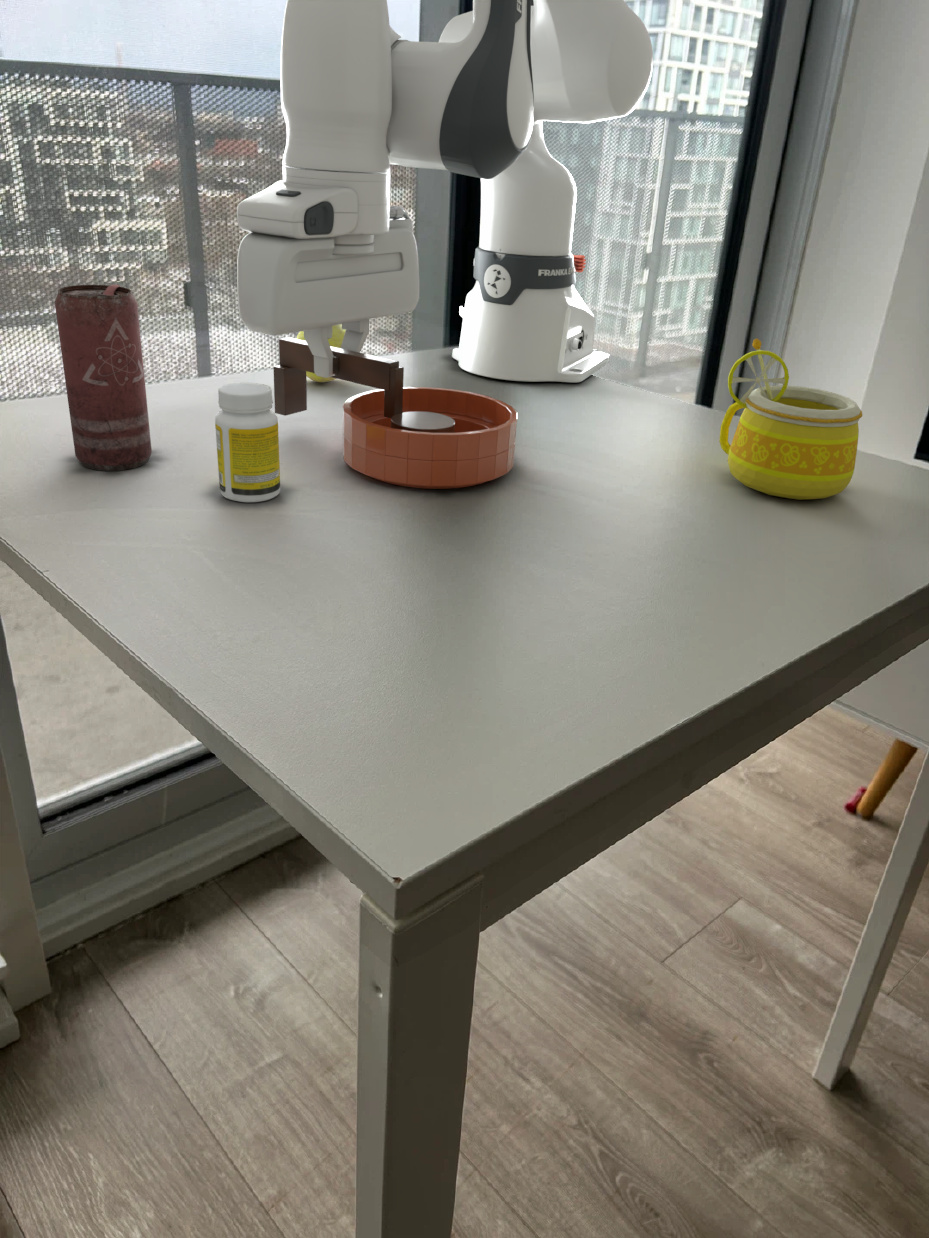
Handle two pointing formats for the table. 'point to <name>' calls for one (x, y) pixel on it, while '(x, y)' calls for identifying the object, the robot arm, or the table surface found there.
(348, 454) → the bowl
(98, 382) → the can
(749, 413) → the mug
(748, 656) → the table surface
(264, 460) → the supplement bottle
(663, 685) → the table surface
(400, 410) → the brown bridge
